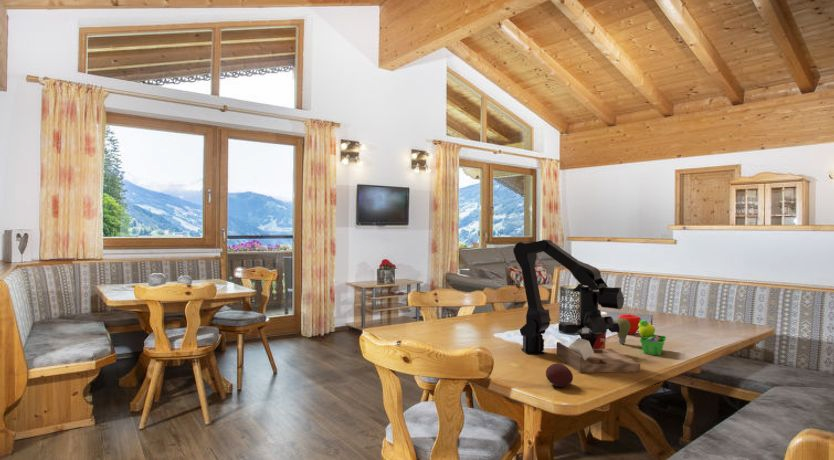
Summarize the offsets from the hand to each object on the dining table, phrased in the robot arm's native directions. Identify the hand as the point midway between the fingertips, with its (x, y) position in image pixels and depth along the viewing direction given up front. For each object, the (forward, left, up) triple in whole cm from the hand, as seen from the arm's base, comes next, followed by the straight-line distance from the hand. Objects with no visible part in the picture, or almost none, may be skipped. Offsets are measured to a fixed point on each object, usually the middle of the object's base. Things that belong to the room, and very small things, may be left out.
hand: (589, 353), depth 159 cm
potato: (-18, -19, -4) cm, 27 cm away
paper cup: (+11, +16, -4) cm, 19 cm away
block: (-3, -2, 0) cm, 3 cm away
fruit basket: (+31, +14, -4) cm, 34 cm away
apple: (+39, +42, -4) cm, 57 cm away
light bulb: (+26, +25, -4) cm, 36 cm away
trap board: (+3, 0, -4) cm, 5 cm away
